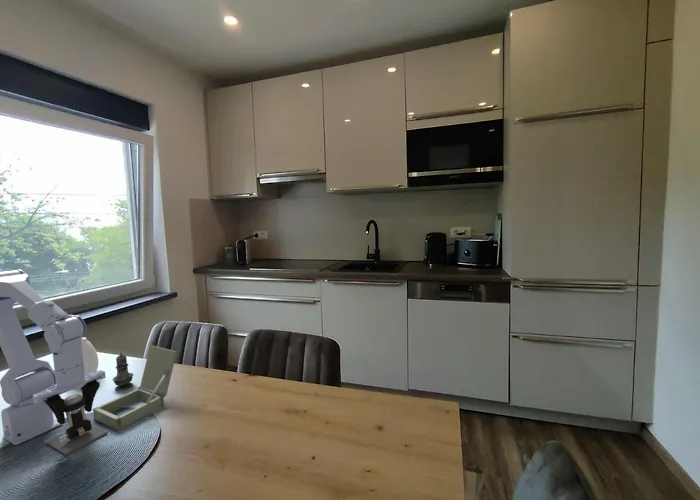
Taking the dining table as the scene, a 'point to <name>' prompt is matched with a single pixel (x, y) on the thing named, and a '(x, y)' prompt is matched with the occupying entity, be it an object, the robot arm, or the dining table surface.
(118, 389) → the grey tall tiered piece
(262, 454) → the dining table surface
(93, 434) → the mat
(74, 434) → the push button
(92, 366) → the sauce bottle
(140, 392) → the equipment case
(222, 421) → the dining table surface
